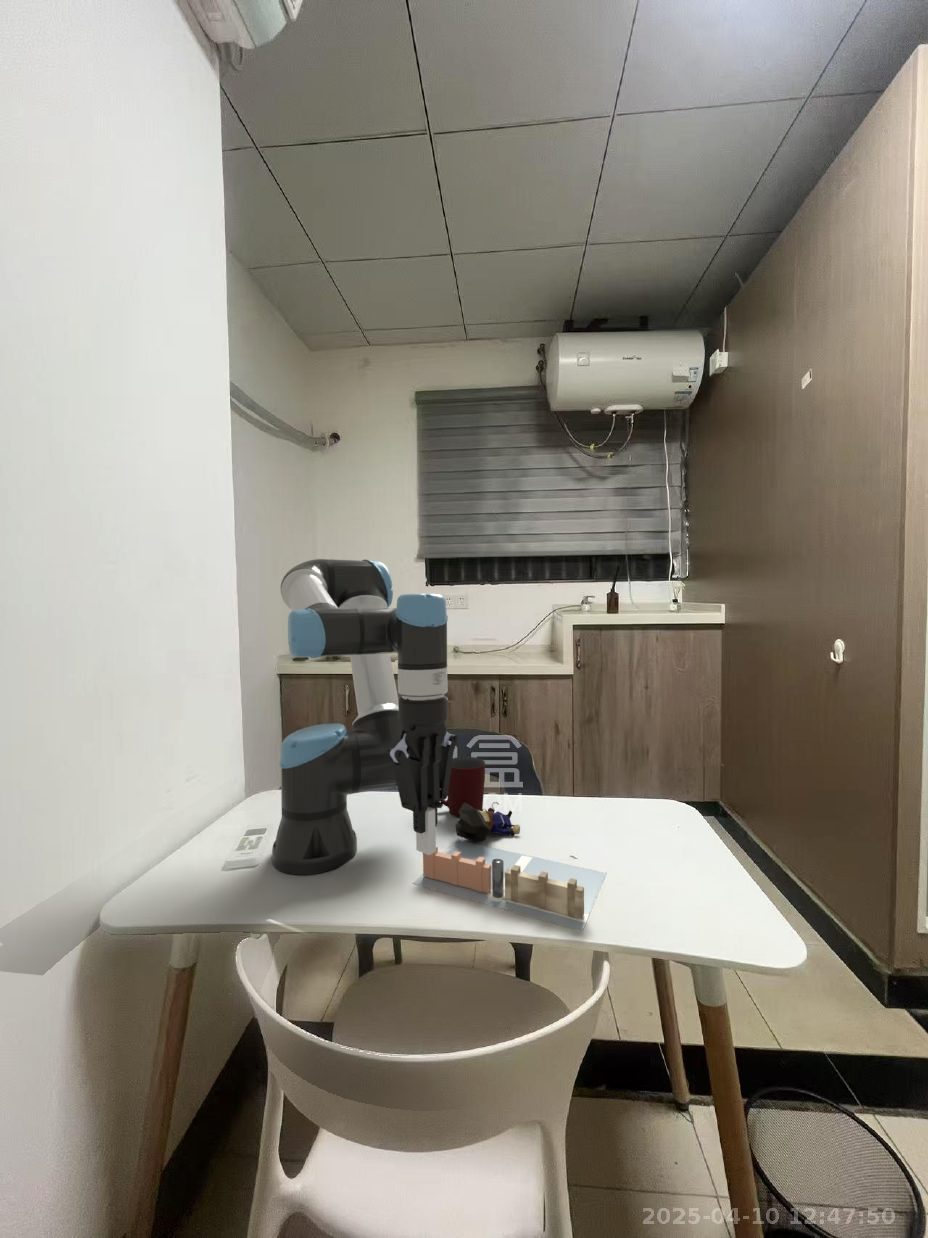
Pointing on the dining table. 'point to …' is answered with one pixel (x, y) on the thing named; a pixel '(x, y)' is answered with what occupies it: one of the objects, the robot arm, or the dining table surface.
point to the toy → (483, 823)
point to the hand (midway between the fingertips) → (426, 850)
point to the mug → (465, 784)
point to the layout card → (530, 866)
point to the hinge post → (497, 878)
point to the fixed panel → (544, 892)
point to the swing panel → (458, 870)
